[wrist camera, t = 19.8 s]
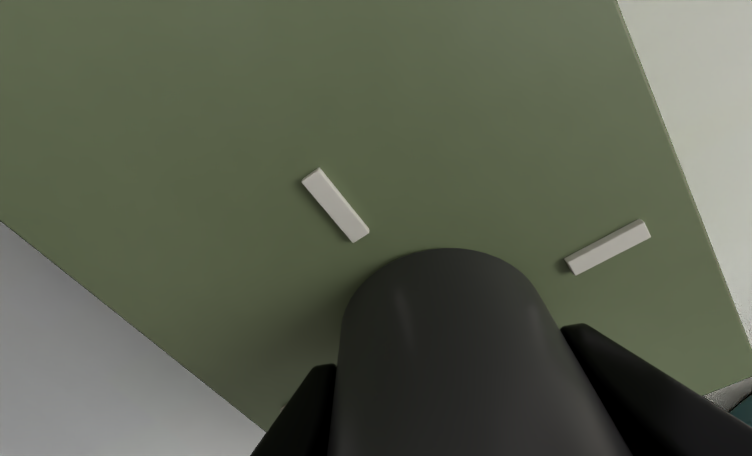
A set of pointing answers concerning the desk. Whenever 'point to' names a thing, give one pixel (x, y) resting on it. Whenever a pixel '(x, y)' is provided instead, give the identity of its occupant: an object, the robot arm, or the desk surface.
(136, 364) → the desk surface
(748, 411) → the teal cup
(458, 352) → the dial
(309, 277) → the control panel
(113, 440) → the desk surface
